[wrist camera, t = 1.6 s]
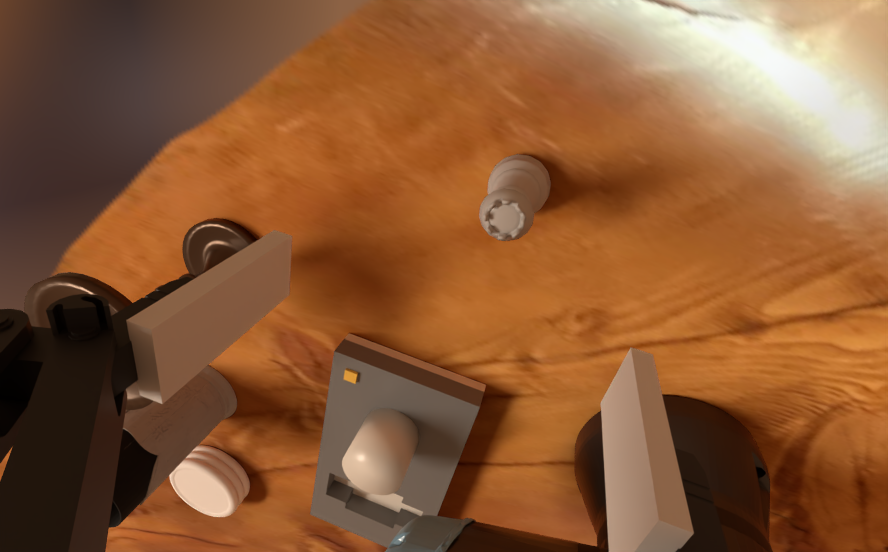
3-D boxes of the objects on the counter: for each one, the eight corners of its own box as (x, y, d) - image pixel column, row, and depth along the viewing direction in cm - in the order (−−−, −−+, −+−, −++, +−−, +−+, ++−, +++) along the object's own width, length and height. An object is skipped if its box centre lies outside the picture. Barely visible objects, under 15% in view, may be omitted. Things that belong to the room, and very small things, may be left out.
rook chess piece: (482, 201, 34) (457, 241, 27) (500, 144, 32) (478, 171, 25) (538, 221, 34) (527, 266, 27) (560, 164, 32) (555, 197, 25)
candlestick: (167, 261, 46) (-624, 677, 16) (204, 184, 40) (-899, 595, 10) (252, 329, 47) (-332, 838, 17) (299, 264, 41) (-441, 841, 11)
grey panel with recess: (486, 384, 42) (467, 451, 35) (426, 537, 55) (404, 607, 48) (348, 333, 44) (305, 387, 37) (322, 492, 57) (286, 554, 50)
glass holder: (219, 429, 56) (112, 543, 43) (126, 355, 55) (-14, 451, 42) (248, 396, 52) (139, 512, 39) (148, 315, 50) (-1, 408, 37)
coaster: (188, 431, 59) (166, 452, 56) (255, 464, 58) (237, 487, 55) (186, 476, 64) (167, 497, 61) (248, 506, 63) (232, 529, 60)
